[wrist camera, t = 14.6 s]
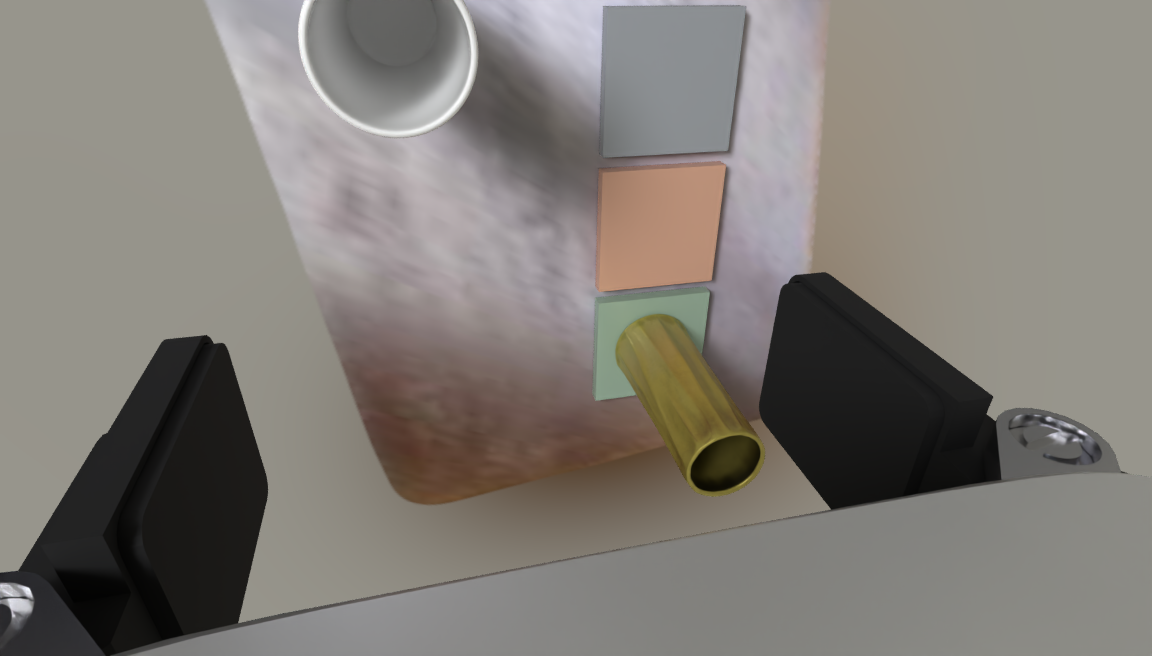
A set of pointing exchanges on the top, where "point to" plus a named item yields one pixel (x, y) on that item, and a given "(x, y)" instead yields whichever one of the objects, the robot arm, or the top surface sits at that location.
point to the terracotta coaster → (657, 224)
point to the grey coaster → (668, 78)
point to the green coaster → (626, 309)
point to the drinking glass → (390, 61)
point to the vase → (689, 406)
